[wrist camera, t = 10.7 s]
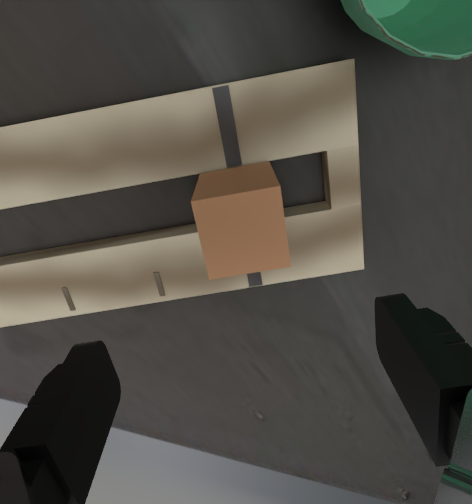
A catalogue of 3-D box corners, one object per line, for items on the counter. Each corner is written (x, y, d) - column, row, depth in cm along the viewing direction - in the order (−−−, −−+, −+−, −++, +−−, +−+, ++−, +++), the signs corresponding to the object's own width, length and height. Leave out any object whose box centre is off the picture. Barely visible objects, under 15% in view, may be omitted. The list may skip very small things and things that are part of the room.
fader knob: (202, 164, 27) (190, 201, 19) (265, 153, 27) (280, 185, 19) (215, 223, 29) (209, 279, 21) (274, 213, 28) (291, 266, 20)
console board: (-97, 145, 26) (-123, 151, 24) (345, 60, 25) (354, 58, 23) (-9, 316, 32) (-24, 331, 30) (356, 257, 30) (364, 269, 28)
